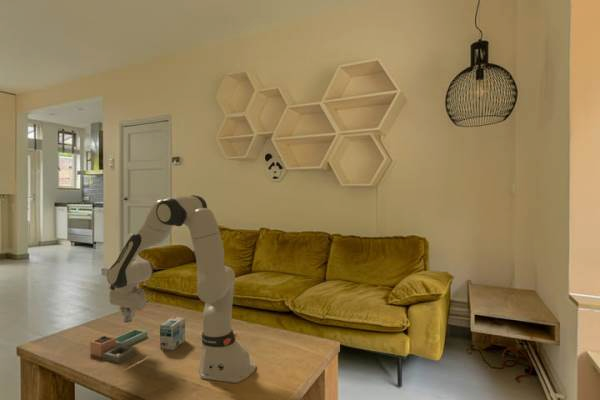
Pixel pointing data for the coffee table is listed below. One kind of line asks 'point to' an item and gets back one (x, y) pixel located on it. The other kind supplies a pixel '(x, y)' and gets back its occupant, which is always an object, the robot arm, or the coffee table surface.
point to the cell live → (127, 315)
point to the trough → (130, 337)
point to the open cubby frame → (101, 346)
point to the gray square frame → (121, 357)
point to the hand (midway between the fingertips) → (127, 316)
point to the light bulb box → (172, 333)
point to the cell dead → (103, 339)
